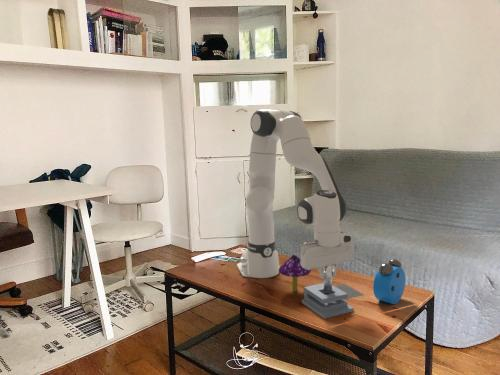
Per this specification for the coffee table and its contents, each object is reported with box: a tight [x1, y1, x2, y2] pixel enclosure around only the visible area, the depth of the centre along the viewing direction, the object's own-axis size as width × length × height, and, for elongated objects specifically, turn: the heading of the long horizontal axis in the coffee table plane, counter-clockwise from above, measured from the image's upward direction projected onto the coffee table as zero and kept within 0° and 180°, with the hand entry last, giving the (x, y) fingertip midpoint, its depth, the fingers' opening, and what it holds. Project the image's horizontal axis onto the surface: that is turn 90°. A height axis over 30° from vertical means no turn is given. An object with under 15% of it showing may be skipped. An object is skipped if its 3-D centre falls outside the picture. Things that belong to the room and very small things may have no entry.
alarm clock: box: [372, 258, 406, 305], centre depth 143 cm, size 13×6×15 cm, turn 135°
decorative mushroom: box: [279, 254, 312, 293], centre depth 154 cm, size 12×12×15 cm
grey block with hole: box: [301, 282, 355, 320], centre depth 140 cm, size 14×12×6 cm
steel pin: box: [322, 265, 333, 291], centre depth 139 cm, size 3×3×10 cm
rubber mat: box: [334, 283, 365, 301], centre depth 153 cm, size 12×12×1 cm
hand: (328, 276), depth 139 cm, fingers closed on steel pin, 3 cm apart
